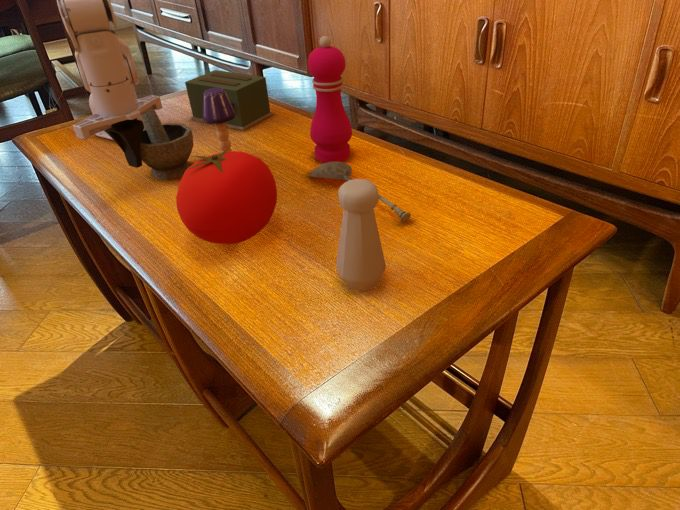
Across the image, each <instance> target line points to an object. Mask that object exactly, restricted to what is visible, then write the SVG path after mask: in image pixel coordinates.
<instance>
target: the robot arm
mask: <svg viewBox="0 0 680 510" xmlns="http://www.w3.org/2000/svg"><path fill="white" fill-rule="evenodd" d="M56 6H57V8H58V11H59V15H60V17H61V20H62V24H63V26H64V28H65V31H66V32H67V34H68V36H69V38H70V40H71V42H72V45H73V47H74V51H75V52H74V57H75V60H76V65H77V68H78V71H79V75H80V78H81V80H82V83H83V86H84V88H85V91H87V92H89V93H90V94H89V97H88V98H89V99H88V105H89V107H90V111H91V114H92V115H90V116H88V117H86V118H84V119H83V120H81V121H79V122H77V123H75V124H72V128H73V131H74V134H75V136H76V139H80V140H83V141H87V140H88V139H91V138H92V136H94V135H95V136H96V137H99V138H103V139H107V140H110V141H114V142H115V143H116V144H117V146H118V147H119V149H121V152H123V154H124V157H125V160H126V162H127V164H128V166H129V167H133V168H135V169H138V168H140V167H143V161H142V159H141V155H140V142H141V137H142V133H143V130H144V129H145V125H144V122H143V119H142V117H141V115H143V114H145V113H148V112H150V111H153V110H155V111H160V110H161V109H163V104H162V100H161V97H160V96H159V95H154V94H151V95H147V96H143V97H144V98H143V97H140V98H138V96H137V93H136V86H137V85H139V82H140V78H139V74H138V71H137V66H136V64H135V61H134V58H133V55H132V52H131V50H130V47H129V45H128V43H127V42H126V41H125V40H123V39H122V38H120V37H118V35H117V33H118V23H117V20H116V15H115V11H114V9H113V6H112V3H111V0H56ZM110 22H111V23H112V24H113V26H114V30H115V31H114V30H113V29H112V28H111V24H110ZM116 32H117V33H116Z"/></svg>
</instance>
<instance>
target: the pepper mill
mask: <svg viewBox="0 0 680 510" xmlns="http://www.w3.org/2000/svg"><path fill="white" fill-rule="evenodd" d="M331 43H332V41H331V38H330V37H329V36H327V35H323V36H321V37H320V38H319V46H318V47H316V48H314V49H313V50H312V51H311V52H310V54H309V55H308V58H307V69H308V73H310V75H311V76H312V77H313V78H312V80H311V83H312V89H313V90H314V91H315V96H316V101H315V102H316V105H315V111H314V114H313V116H312V120H311V123H310V129H309V132H310V133H309V136H310V139H311V141H312V142H313V143H314V144H315V146H314V149H313V150H314V157H315V160H317V162H320V163H322V164H324V163H327V162H334V161H337V162H345V161H347V160H348V159H350V157H351V145H350V143H349V141H350V140H351V139H352V136H353V128H352V124H351V120H350V118H349V116H348V114H347V111H346V109H345V107H344V103H343V100H342V89H343V87H344V83H343V81H344V77H343V76H342V75H343V73H344V72H345V70H346V64H347V63H346V58H345V55H344V53H343V52H342V51H341V50H340V49H339V48H338V47H335V46H332V45H331Z"/></svg>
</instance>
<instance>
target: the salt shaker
mask: <svg viewBox="0 0 680 510" xmlns="http://www.w3.org/2000/svg"><path fill="white" fill-rule="evenodd" d="M352 179H353V180H349V181H345V182H343V183H342V184H341V185H340V186H339V188H338V191H337V197H338V204H339V206H340V207H341V209H343V212H342V218H341V219H342V220H341V227H340V234H339V241H338V248H337V254H336V261H335V265H336V272H337V274H338V276H339V277H340V278H341V279H342V281H343V282H344V283H345V284H346V286H347V288H348V290H351V291H356V292H360V293H361V292H362V293H365V292H367V291H369V290H372V289H374V288H377V287H378V285H379V284H380V280H381V279H382V277H383V275H384V272H385V271H386V268H387V264H386V259H385V256H384V251H383V245H382V241H381V236H380V231H379V228H378V223H377V217H376V214H375V208H376V207H377V205H378V203H379V195H380V194H379V189H378V187H377V185H376V183H373V182H372V181H371V180H369V179H365V178H352Z"/></svg>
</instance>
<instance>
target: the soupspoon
mask: <svg viewBox="0 0 680 510" xmlns="http://www.w3.org/2000/svg"><path fill="white" fill-rule="evenodd" d="M352 174H353V168H352V166H351V165H350V164H348V163H346V162H344V161H342V162H337V161H334V162H327V163H322V164H319V165H318V166H316V167H315V168H313V169H312V170H311V172H310V173H309V174H308V177H310V178H311V177H312V178H319V179H331V180H340V181H345V182H347V181H349V180H353V179H354V178H352V177H351V175H352ZM378 201H381V202H382V203H384V204H385V205H387V206H389V208H390V210H391V211H394V213H395V215H397V216H398V218H399V219H400V223H402V224H403V223H407V222H408V221H409V219H410V218H411V216H412V214H411V213H410V212H409V211H407V212H406V211H404V210H403V209H401V208H400V207H399V206H398V205H397V204H394V203H393V202H392V201H390V200H389V199H387V198H385V197H384V196H382V195H381V194H379V199H378Z"/></svg>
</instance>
